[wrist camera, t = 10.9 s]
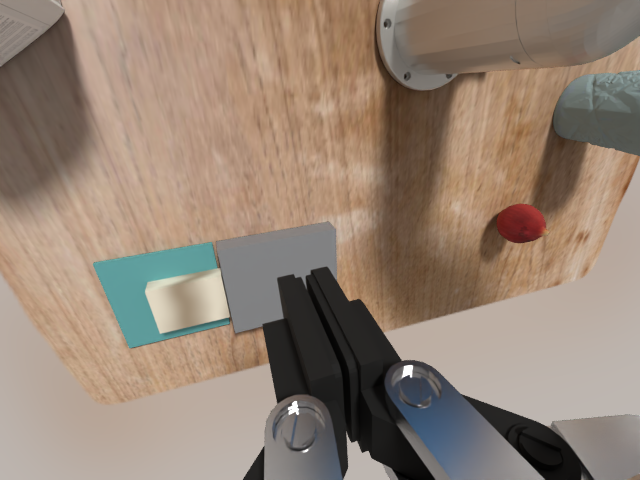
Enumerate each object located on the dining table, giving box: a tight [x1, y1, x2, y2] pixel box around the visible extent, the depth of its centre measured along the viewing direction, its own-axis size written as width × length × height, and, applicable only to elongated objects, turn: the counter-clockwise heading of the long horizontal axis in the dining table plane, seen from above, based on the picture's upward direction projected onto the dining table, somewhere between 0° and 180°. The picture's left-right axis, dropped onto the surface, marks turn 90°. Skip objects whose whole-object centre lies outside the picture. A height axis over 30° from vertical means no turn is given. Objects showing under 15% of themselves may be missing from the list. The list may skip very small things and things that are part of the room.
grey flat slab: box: [216, 222, 337, 333], centre depth 40 cm, size 14×12×2 cm
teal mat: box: [93, 242, 230, 348], centre depth 37 cm, size 12×12×1 cm
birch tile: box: [145, 268, 230, 334], centre depth 37 cm, size 8×6×2 cm
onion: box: [497, 204, 550, 243], centre depth 46 cm, size 6×6×8 cm
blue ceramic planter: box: [553, 70, 640, 156], centre depth 40 cm, size 10×10×12 cm
